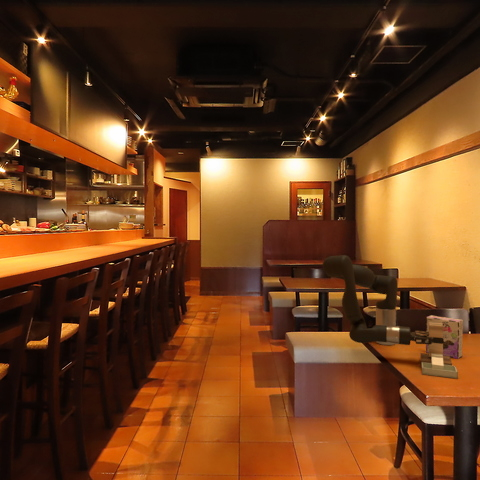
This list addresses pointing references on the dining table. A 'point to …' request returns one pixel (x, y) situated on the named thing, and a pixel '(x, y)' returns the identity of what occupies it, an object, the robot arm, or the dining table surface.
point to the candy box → (449, 335)
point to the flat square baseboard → (428, 359)
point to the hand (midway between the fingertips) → (442, 339)
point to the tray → (440, 371)
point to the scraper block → (435, 331)
